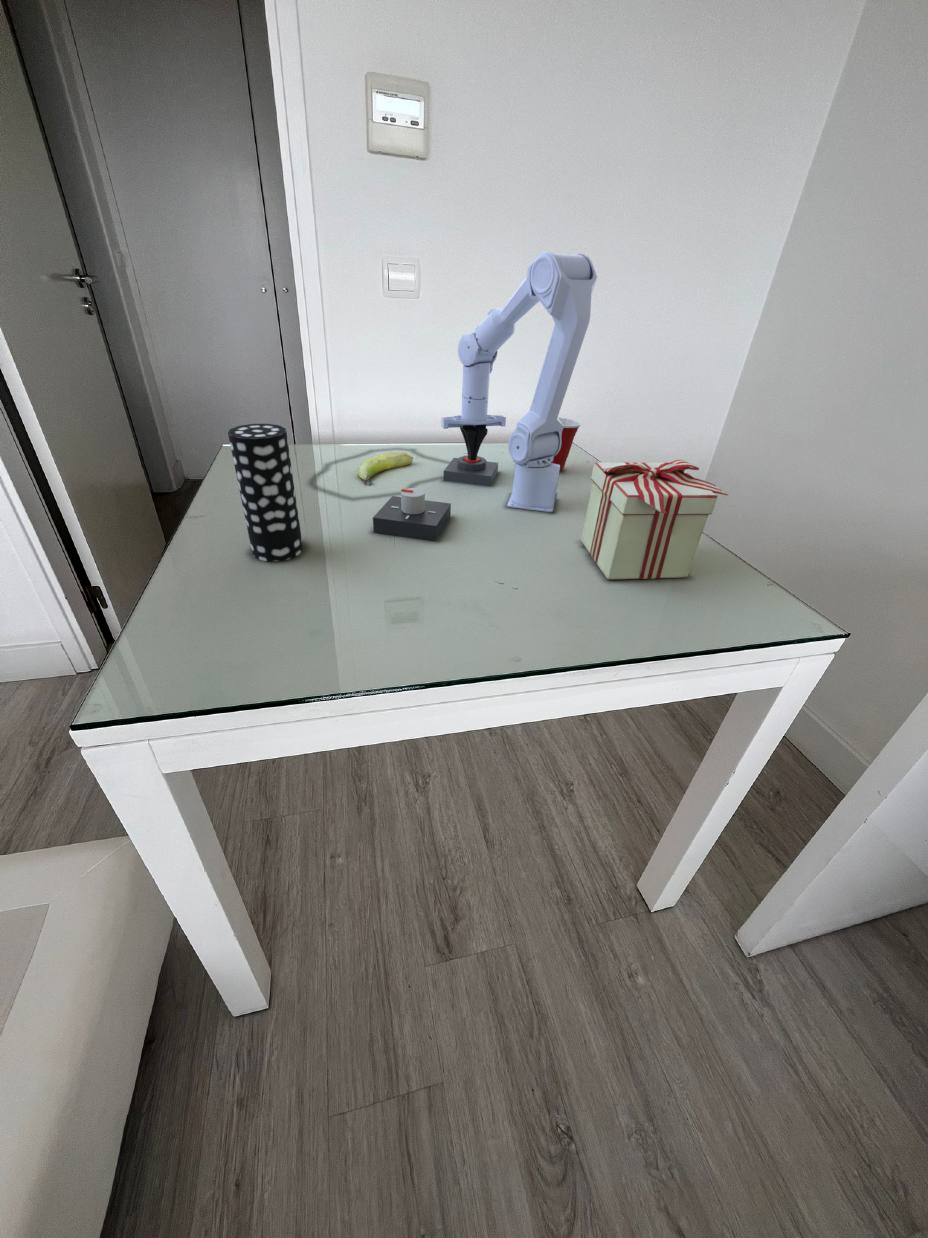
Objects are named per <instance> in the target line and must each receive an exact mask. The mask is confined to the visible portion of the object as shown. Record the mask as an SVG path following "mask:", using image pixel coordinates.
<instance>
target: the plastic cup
mask: <svg viewBox="0 0 928 1238" xmlns="http://www.w3.org/2000/svg"><path fill="white" fill-rule="evenodd" d="M557 418H558V419H559V420H560V421H561V423H562V424H563V426H564V428H563V431H562V435H561V441H562V443H561V448H560V451H559V452H558V453H557V454H556V455H555V456H554V458H553V462H551V463H553V464H558V465H560V471H559V473H562V472H563V471H564V469H565V466H566V463H567V459H568V458H569V454H570V451H571V448H572V446H573V443H574V439H575V437H576V434H577V432H578V430H579V428H580V427H581V425H582V423H581V422H580V421H578V420H575V419H570V418H565V417H559V416H558V417H557Z"/></svg>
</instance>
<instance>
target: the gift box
mask: <svg viewBox="0 0 928 1238" xmlns="http://www.w3.org/2000/svg"><path fill="white" fill-rule="evenodd" d="M685 470H691V471H699V470H700V468H699V467H698V466H696V465H695V464H692V463H690V462H688V461H686V460H684V459H676V460H673V461H669V462H665V461H664V462H643V461H642V462H639V461H638V462H637V461H636V462H630V461H628V462H625V461H623V462H609V461H607V462H606V461H605V462H601V461H600V462H598V461H597V462H594V463H593V468H592V473H591V478H590V480H591V481H592V484H591V490H590V494H589V499H588V504H587V509H586V512H585V513H586V514H585V518H584V524H583V530H582V533H581V538H580V541H581V543H582V544H583V546H584V547H585V549H586V550H587V552H588V553H589V554H590V556H591V558H592V559H593V561H594V563H595V564H596V565H597V567H598V568H599V569H600V571H601V572H602V573H603V575H604V576H605V578H606V579H607V580H614V581H617V580H648V579H649V580H655V579H656V580H657V579H683V578H684V579H685V578H688V576H689V573H690V570H691V568H692V566H693V565H692V564H693V561H694V558H695V556H696V553H697V551H698V547H699V544H700V542H701V538H702V535H703V532H704V529H705V526H706V523H707V522H708V521H707V520H708V518H709V516H710V515H713V512H714V509H715V506H716V504H717V500H718V495H717V494H719V495H722V496H723V495H724V496H729V494H728V493H726V492H724V491H723V490H721V488H719V487H718V486H717V485H716V484H715V483H711V482H710V481H706V480H703V479H700V478H696V477H694V476H693V475H691V474H689V473H688V472H687V471H685Z"/></svg>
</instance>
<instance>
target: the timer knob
mask: <svg viewBox="0 0 928 1238" xmlns="http://www.w3.org/2000/svg"><path fill="white" fill-rule="evenodd" d="M400 497H401V510H402V512H404V513H406V514H420V513H423V512H424V511H425V500H426V492H425V490H424V489H421V488H417V487H407V488H401V491H400Z"/></svg>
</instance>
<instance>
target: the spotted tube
mask: <svg viewBox="0 0 928 1238" xmlns="http://www.w3.org/2000/svg"><path fill="white" fill-rule="evenodd" d="M287 433H288V432H287V429H286V427H284V426H283V425H279V424H274V423H248V424H242V425H237V426H233V427H232V428H230V429H229V430H227V436H228V440H229V447H230V450H231V451H230V452H231V456H232V460H233V465H234V470H235V475H236V480H237V485H238V489H239V490H238V491H239V495H240V499H241V504H242V509H243V515H244V519H245V524H246V529H247V534H248V539H249V544H250V549H251V554H252V556H253V557H254V558H255V559H257V560H260V561H263V562H283V561H288V560H291V559H293V558H296V557H298V556H299V555H301V553H302V552H303V551H304V545H303V538H302V532H301V523H300V517H299V510H298V503H297V496H296V495H297V494H296V489H295V482H294V481H295V480H294V474H293V468H292V461H291V453H290V448H289V447H290V445H289V440H288V434H287Z"/></svg>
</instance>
